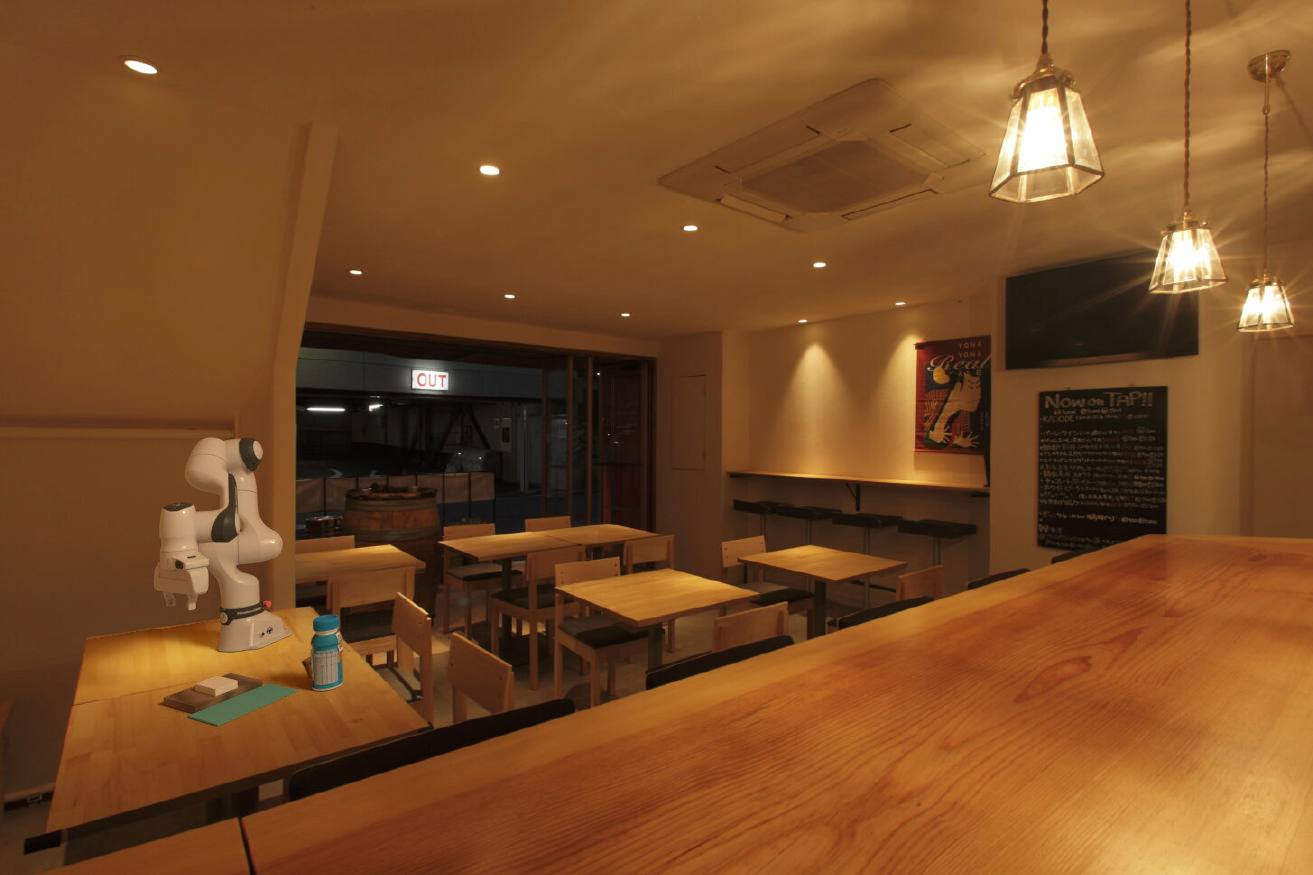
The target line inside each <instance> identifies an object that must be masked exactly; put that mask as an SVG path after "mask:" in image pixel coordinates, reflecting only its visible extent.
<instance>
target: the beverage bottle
mask: <svg viewBox="0 0 1313 875" xmlns="http://www.w3.org/2000/svg"><path fill="white" fill-rule="evenodd" d="M339 628H340V616H339V615H337V614H323V615H320V616H317V617H315V618H313V620H312V629H313V632H315V633H314V634H313V636H312V637H311V640H310V646H311V649H310V652H309V653H310V656H311V665H312V679H311V688H312V690H314V691H316V692H326V691H331V690H335V689H337V688H340V686H342V685H343V684H344V670H343V669H344V664H343V651H344V644H342V642H343V636H342V633H341V632H340V631H339Z"/></svg>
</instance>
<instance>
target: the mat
mask: <svg viewBox="0 0 1313 875" xmlns="http://www.w3.org/2000/svg"><path fill="white" fill-rule="evenodd" d="M297 692H298V689H297V688H292V687H288V686H284V685H279V684H275V683H271V682H267V683H266V684H262V686H261V687H258V688H256V689H253V690H251V691H248V692H246V693H243V694H241V695H238V696H236V697H233V698H231V699H228V700H226V701H223V702H221V703H218V704H216V705H213V706H211V707H208V708H206V709H204V710H201V711H199V712H196V713H191V714H189V715H187V718H189V719H191V720H195V721H198V722H202V723H205V724H209V725H211V726H215V727H219V726H222V725H223V724H227V723H228V722H230V721H233V720H235V719H237V718H239V717H242V716H245V715H246V714H250V713H251V712H253V711H256V710H258V709H261V708H263V707H265V706H267V705H270V704H272V703H274V702H277V701H279V700H281V699H283V698H286V697H287V696H288V697H289V696H290V695H293V694H295V693H297Z"/></svg>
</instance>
